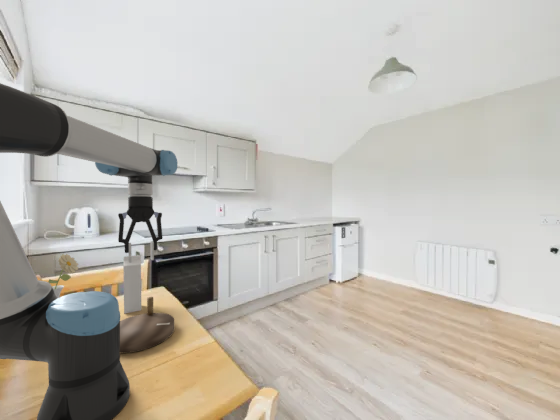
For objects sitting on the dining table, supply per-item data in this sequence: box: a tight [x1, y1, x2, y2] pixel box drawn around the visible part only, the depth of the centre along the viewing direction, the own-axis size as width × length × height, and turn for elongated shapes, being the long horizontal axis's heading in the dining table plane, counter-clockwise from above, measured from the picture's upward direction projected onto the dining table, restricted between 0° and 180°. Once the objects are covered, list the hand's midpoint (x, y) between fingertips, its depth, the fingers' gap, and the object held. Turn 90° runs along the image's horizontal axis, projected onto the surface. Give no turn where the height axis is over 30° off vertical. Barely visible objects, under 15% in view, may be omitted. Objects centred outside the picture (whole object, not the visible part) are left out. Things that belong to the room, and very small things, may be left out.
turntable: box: [120, 296, 175, 354], centre depth 80 cm, size 20×20×9 cm
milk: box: [122, 254, 142, 314], centre depth 99 cm, size 6×6×22 cm
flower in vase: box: [48, 253, 79, 298], centre depth 86 cm, size 13×11×25 cm
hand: (141, 260), depth 87 cm, fingers open, 6 cm apart
